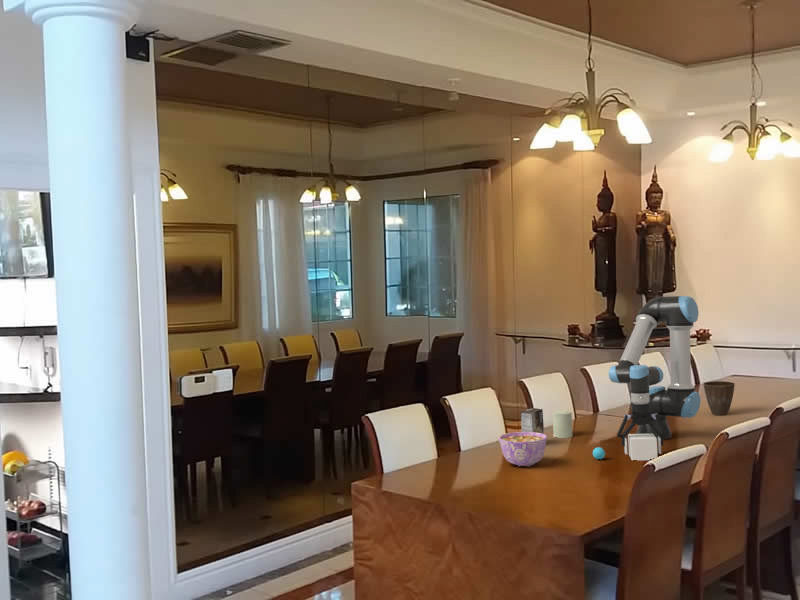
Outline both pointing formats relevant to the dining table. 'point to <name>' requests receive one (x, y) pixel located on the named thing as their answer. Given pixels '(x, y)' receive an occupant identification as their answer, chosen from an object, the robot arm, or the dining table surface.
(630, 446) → the white rounded cube
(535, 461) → the bowl of food
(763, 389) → the dining table surface
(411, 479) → the dining table surface
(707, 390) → the plant pot
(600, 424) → the dining table surface
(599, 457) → the ball
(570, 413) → the can
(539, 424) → the coffee box
